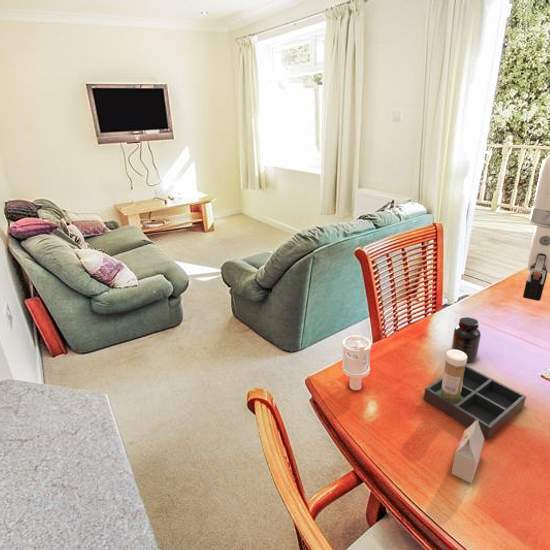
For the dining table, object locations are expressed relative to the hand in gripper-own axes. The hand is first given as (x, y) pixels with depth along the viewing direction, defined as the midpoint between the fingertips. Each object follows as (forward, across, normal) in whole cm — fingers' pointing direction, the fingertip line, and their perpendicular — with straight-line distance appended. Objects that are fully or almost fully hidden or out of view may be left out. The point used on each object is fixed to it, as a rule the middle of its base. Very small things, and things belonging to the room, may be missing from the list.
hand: (534, 290), depth 85 cm
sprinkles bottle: (+28, -13, +11) cm, 33 cm away
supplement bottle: (+28, +8, +13) cm, 32 cm away
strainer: (+28, -21, +33) cm, 48 cm away
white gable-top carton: (+28, -30, +4) cm, 42 cm away
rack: (+28, -10, +7) cm, 31 cm away
